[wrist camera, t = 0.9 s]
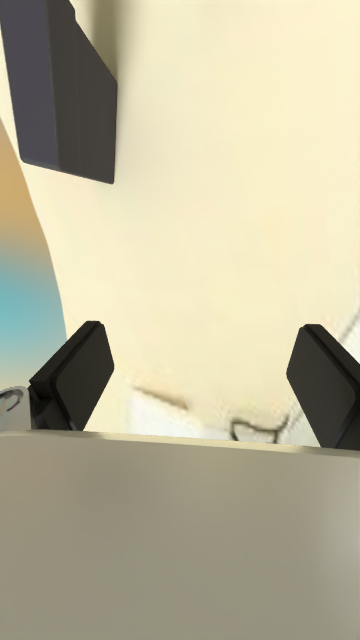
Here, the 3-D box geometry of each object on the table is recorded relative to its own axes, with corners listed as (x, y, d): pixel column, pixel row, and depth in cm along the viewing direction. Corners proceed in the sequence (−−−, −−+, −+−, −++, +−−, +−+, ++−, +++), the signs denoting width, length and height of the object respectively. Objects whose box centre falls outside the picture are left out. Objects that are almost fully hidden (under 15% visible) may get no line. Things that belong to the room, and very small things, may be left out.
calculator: (88, 75, 26) (-27, -62, 13) (122, 83, 26) (44, -43, 13) (90, 179, 31) (10, 159, 18) (117, 185, 31) (59, 171, 18)
